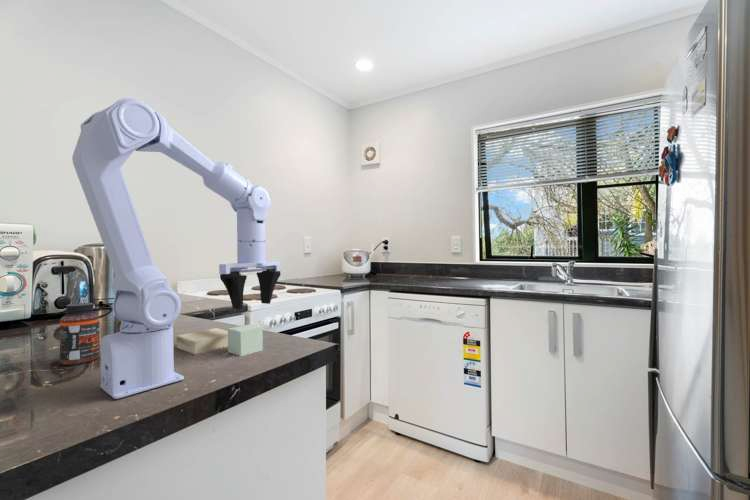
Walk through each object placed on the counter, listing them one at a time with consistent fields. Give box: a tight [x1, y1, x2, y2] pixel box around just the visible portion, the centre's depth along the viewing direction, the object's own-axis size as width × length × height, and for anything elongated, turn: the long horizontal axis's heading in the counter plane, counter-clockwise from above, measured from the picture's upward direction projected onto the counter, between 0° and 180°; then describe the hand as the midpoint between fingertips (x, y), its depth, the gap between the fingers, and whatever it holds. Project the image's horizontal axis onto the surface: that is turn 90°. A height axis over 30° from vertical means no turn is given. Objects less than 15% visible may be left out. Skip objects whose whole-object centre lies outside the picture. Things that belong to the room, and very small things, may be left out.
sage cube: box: [227, 323, 264, 357], centre depth 72 cm, size 5×5×5 cm
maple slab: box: [176, 327, 228, 355], centre depth 77 cm, size 9×9×3 cm
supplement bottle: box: [59, 302, 101, 366], centre depth 68 cm, size 6×6×11 cm
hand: (252, 305), depth 73 cm, fingers open, 7 cm apart
